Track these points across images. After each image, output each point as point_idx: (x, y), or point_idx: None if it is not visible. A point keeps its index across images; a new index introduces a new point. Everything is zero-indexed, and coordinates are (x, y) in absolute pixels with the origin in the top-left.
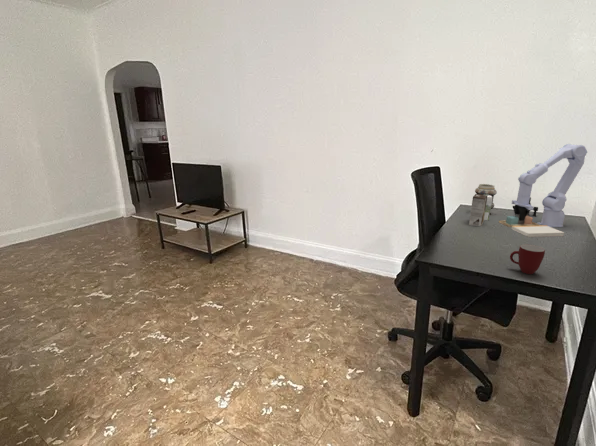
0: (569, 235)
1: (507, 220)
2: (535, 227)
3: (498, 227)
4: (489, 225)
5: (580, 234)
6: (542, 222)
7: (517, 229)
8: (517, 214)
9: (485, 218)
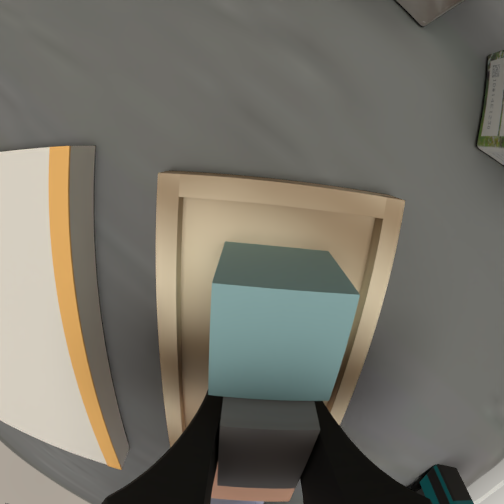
0: (31, 437)
1: (311, 264)
2: (48, 370)
3: (214, 51)
4: (316, 8)
5: (63, 478)
6: (217, 500)
7: (4, 152)
8: (285, 444)
9: (498, 110)
